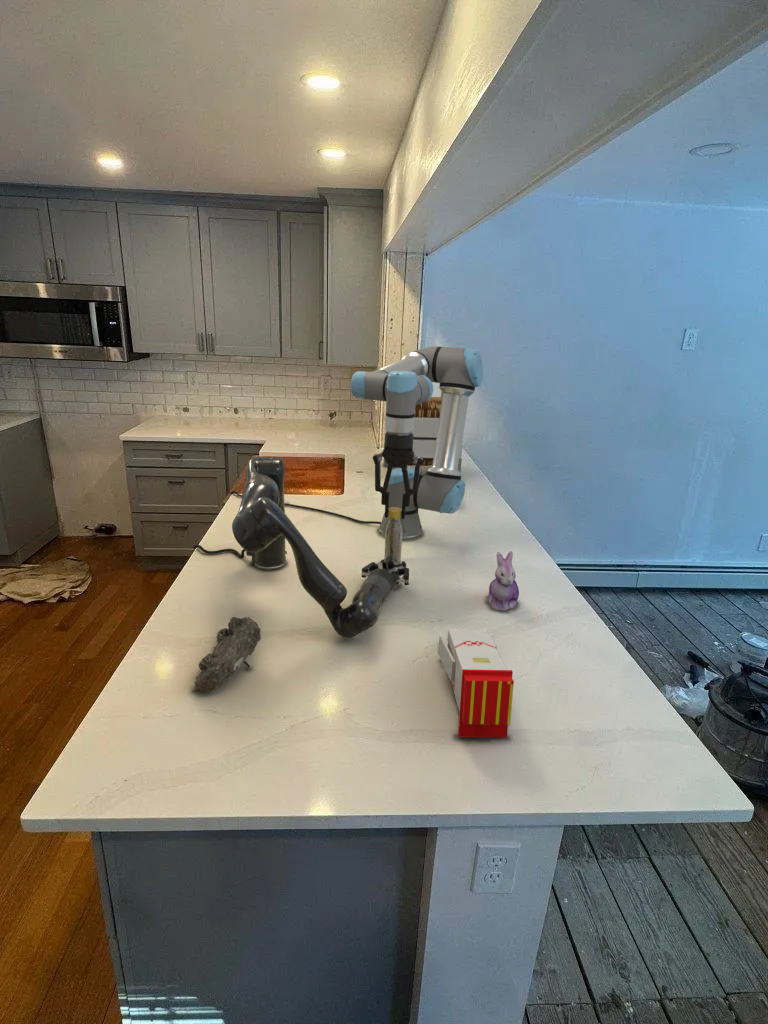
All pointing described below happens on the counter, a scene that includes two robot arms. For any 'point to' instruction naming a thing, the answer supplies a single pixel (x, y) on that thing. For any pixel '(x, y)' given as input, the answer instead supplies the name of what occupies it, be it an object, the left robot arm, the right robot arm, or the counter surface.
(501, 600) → the figurine
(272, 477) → the left robot arm
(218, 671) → the fossil
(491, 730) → the toy
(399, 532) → the bottle
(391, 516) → the cap
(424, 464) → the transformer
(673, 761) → the counter surface
